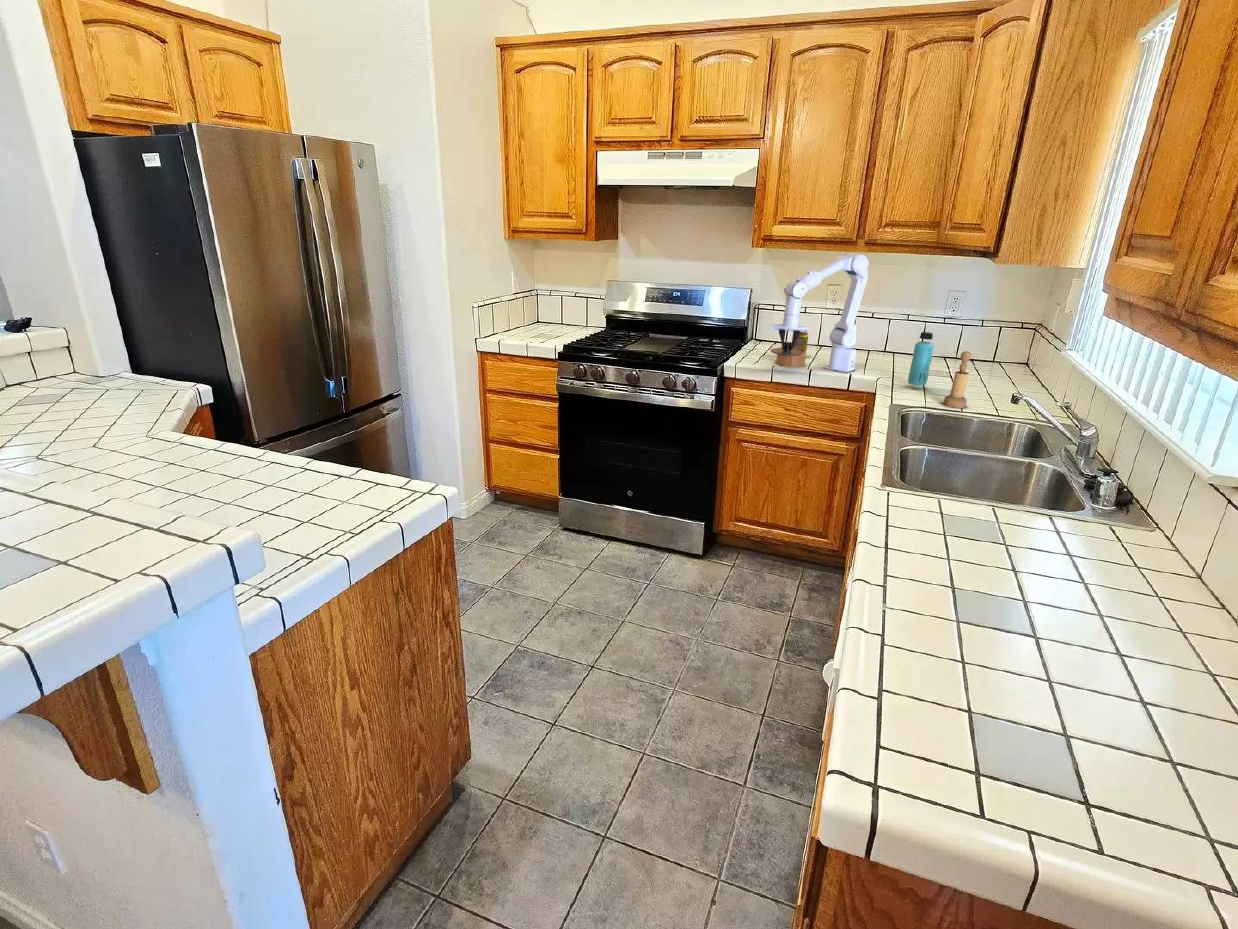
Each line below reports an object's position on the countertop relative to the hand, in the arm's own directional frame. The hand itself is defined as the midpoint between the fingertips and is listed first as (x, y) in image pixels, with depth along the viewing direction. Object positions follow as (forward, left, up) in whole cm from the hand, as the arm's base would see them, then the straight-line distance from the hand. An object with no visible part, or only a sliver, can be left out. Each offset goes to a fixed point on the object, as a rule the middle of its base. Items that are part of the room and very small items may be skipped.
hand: (787, 349), depth 251 cm
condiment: (+11, -29, -8) cm, 32 cm away
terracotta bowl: (+5, -13, -8) cm, 16 cm away
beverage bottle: (-45, -16, -8) cm, 49 cm away
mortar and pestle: (-63, -2, -8) cm, 64 cm away
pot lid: (0, 0, -1) cm, 1 cm away
